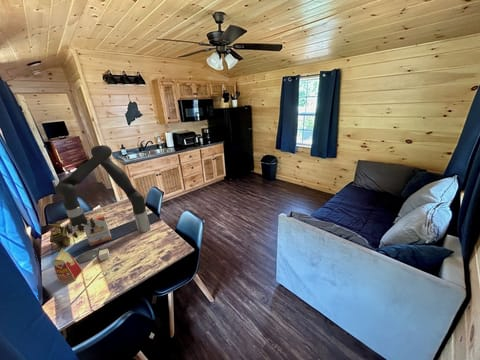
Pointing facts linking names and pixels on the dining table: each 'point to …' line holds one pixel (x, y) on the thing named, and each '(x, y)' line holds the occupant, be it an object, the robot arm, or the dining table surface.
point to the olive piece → (60, 237)
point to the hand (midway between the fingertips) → (85, 235)
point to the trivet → (87, 256)
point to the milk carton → (66, 267)
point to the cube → (104, 254)
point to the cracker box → (98, 230)
